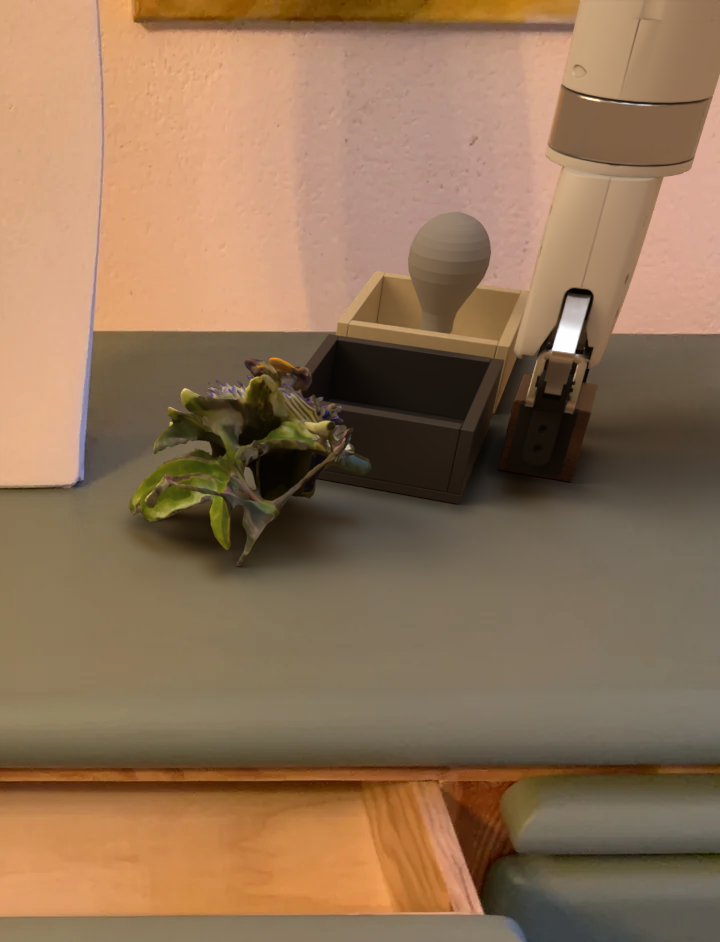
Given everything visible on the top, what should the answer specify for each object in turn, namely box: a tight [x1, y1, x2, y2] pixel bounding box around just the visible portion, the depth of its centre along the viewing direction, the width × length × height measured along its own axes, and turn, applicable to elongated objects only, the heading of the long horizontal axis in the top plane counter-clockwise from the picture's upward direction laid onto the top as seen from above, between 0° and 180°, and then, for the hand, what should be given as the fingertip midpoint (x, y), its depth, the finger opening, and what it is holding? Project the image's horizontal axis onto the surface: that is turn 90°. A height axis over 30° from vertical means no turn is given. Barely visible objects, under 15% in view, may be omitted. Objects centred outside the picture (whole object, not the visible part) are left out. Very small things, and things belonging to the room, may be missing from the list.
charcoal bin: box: [301, 333, 504, 505], centre depth 73 cm, size 12×12×5 cm
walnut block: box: [497, 373, 599, 483], centre depth 72 cm, size 4×4×4 cm
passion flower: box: [128, 357, 371, 567], centre depth 64 cm, size 11×11×12 cm
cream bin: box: [335, 270, 529, 415], centre depth 83 cm, size 12×12×5 cm
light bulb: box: [407, 211, 492, 334], centre depth 80 cm, size 6×6×10 cm
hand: (542, 438), depth 72 cm, fingers open, 9 cm apart
